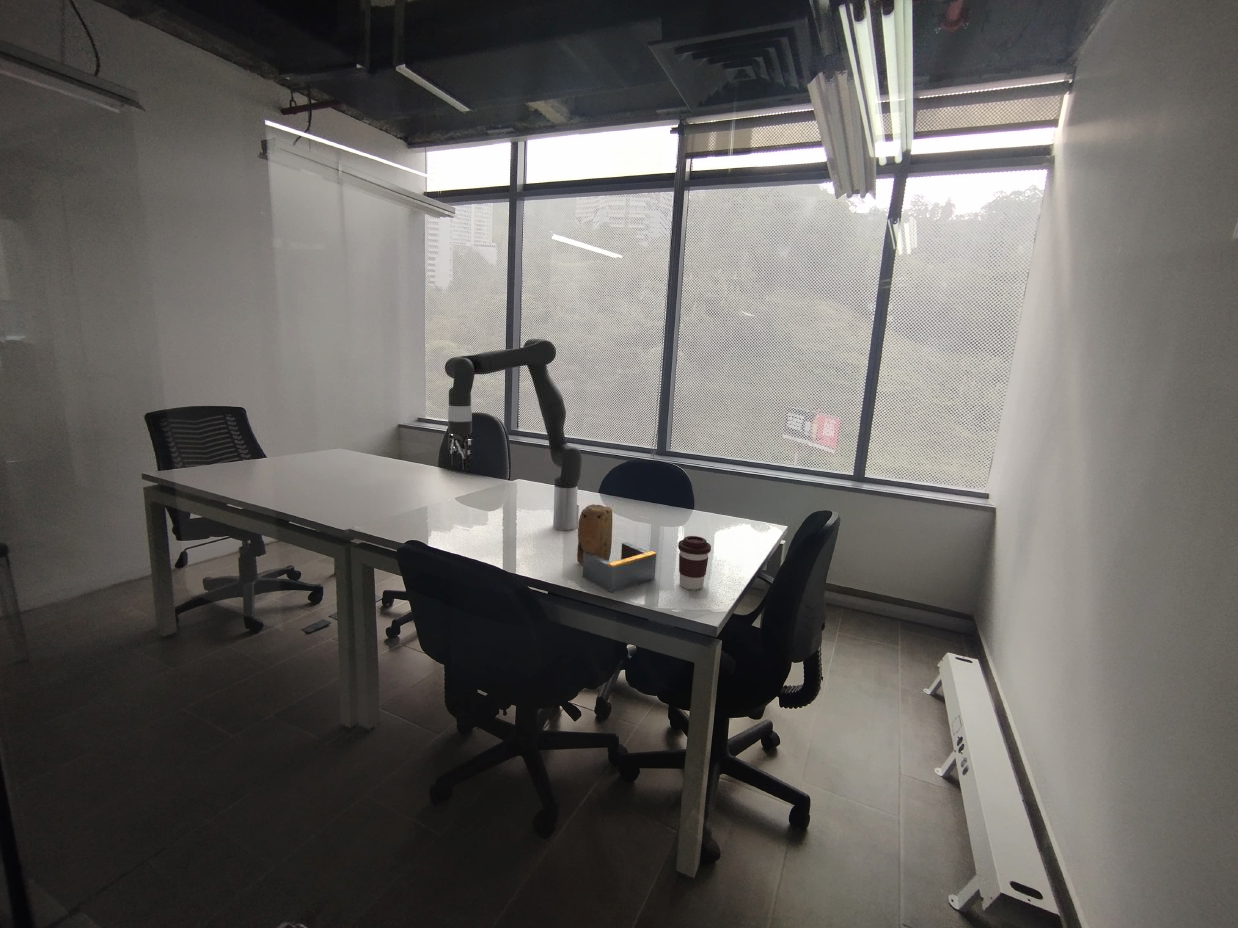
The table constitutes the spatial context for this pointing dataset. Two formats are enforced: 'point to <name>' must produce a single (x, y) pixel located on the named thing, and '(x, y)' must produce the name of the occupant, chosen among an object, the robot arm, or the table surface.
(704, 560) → the coffee cup
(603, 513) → the block
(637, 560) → the dock
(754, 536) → the table surface
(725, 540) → the table surface
